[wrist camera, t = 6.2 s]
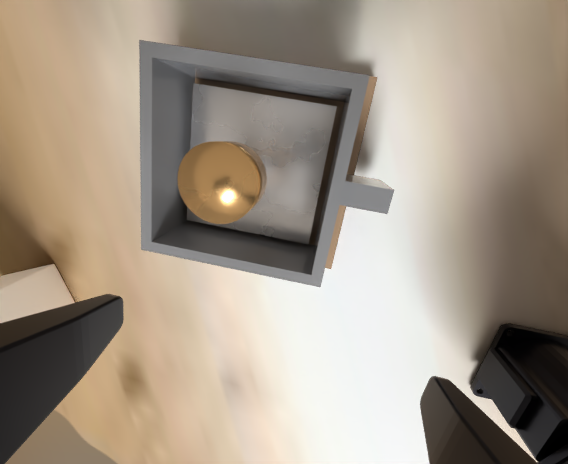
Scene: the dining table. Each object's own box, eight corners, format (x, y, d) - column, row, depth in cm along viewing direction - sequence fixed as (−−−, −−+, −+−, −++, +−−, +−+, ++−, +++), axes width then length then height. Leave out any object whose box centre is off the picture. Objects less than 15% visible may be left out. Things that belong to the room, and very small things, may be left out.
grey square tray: (400, 84, 16) (435, 59, 11) (351, 267, 20) (360, 310, 15) (180, 50, 17) (119, 13, 12) (174, 231, 21) (126, 260, 16)
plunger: (336, 107, 16) (346, 84, 9) (308, 241, 19) (301, 296, 12) (197, 85, 16) (113, 48, 10) (190, 217, 19) (121, 258, 13)
